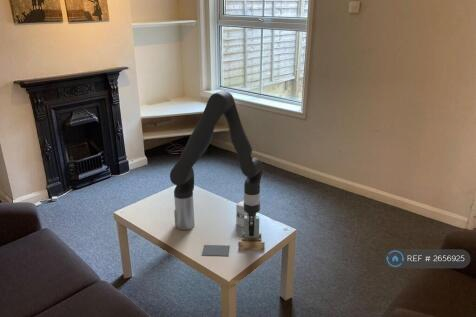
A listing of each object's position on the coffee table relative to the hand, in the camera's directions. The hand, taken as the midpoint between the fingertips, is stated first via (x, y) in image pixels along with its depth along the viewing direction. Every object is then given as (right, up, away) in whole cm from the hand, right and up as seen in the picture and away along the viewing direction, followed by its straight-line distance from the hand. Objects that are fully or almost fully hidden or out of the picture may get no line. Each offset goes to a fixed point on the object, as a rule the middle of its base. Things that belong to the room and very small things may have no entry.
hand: (251, 233), depth 179 cm
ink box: (-3, +2, +17) cm, 18 cm away
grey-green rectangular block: (0, -3, +1) cm, 3 cm away
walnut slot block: (0, -3, +1) cm, 4 cm away
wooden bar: (0, -6, -5) cm, 8 cm away
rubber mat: (-16, -6, -6) cm, 19 cm away
